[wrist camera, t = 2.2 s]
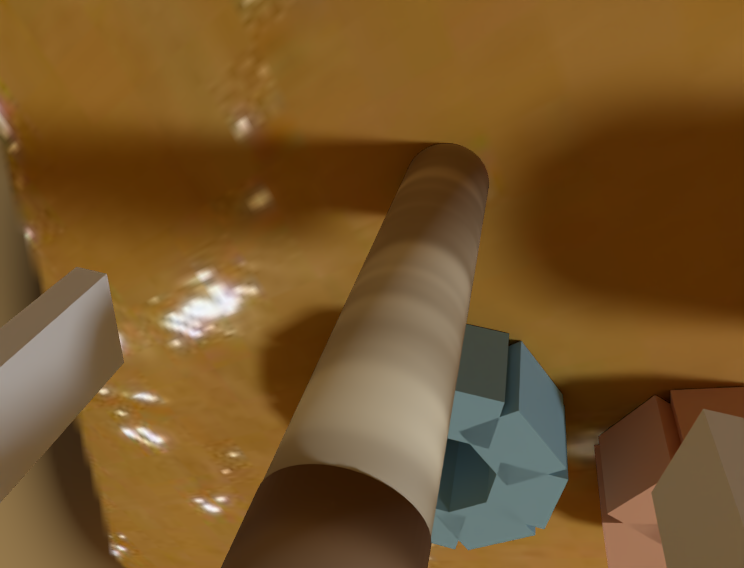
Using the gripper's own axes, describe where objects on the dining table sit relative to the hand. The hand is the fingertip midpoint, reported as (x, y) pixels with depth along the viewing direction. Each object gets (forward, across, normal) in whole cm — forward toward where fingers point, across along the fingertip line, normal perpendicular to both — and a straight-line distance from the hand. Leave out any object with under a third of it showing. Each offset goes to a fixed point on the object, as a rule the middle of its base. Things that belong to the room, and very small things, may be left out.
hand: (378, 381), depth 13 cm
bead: (+10, +2, -10) cm, 15 cm away
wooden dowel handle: (+10, 0, 0) cm, 10 cm away
